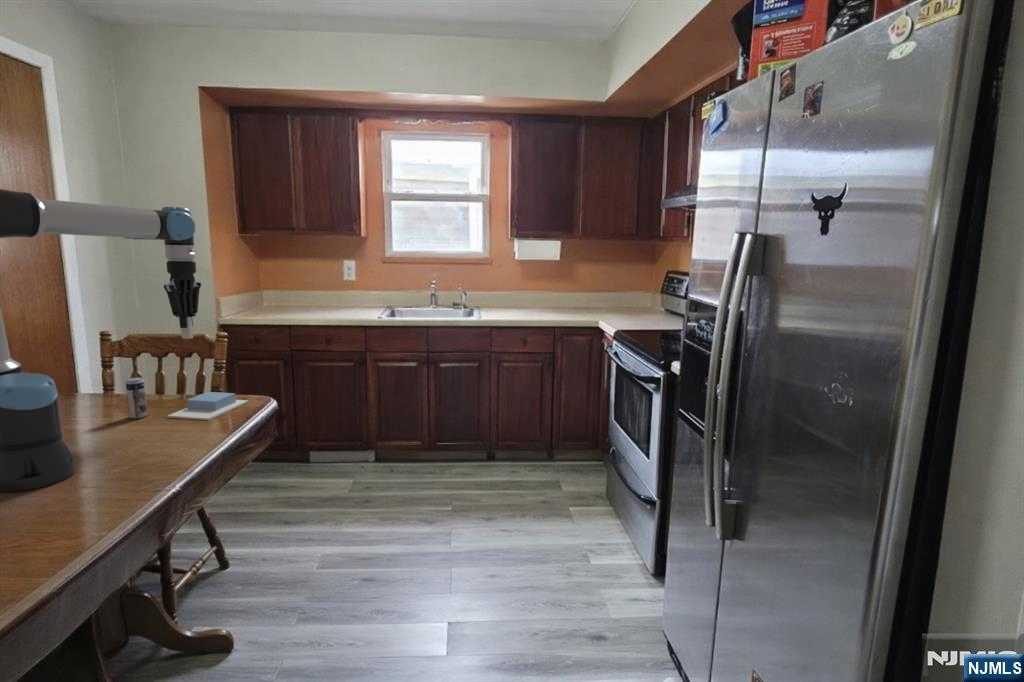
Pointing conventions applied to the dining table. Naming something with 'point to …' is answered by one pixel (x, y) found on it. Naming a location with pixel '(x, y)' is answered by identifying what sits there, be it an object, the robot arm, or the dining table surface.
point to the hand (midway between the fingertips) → (187, 338)
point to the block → (211, 401)
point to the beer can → (136, 398)
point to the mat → (205, 412)
